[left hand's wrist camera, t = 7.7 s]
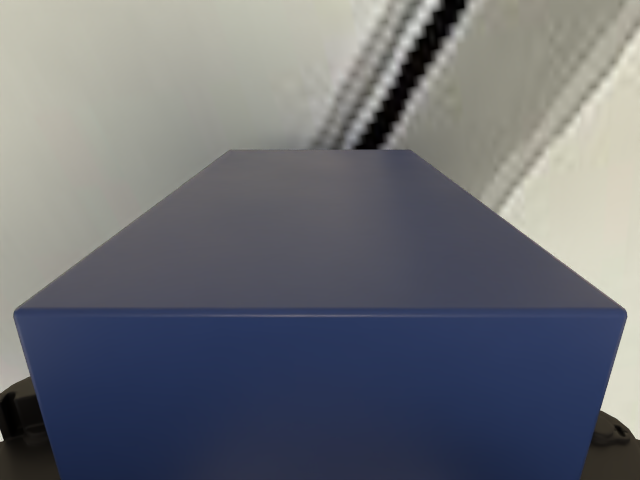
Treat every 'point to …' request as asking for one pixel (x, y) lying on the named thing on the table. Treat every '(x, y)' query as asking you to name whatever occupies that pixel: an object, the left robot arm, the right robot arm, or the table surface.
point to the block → (320, 333)
